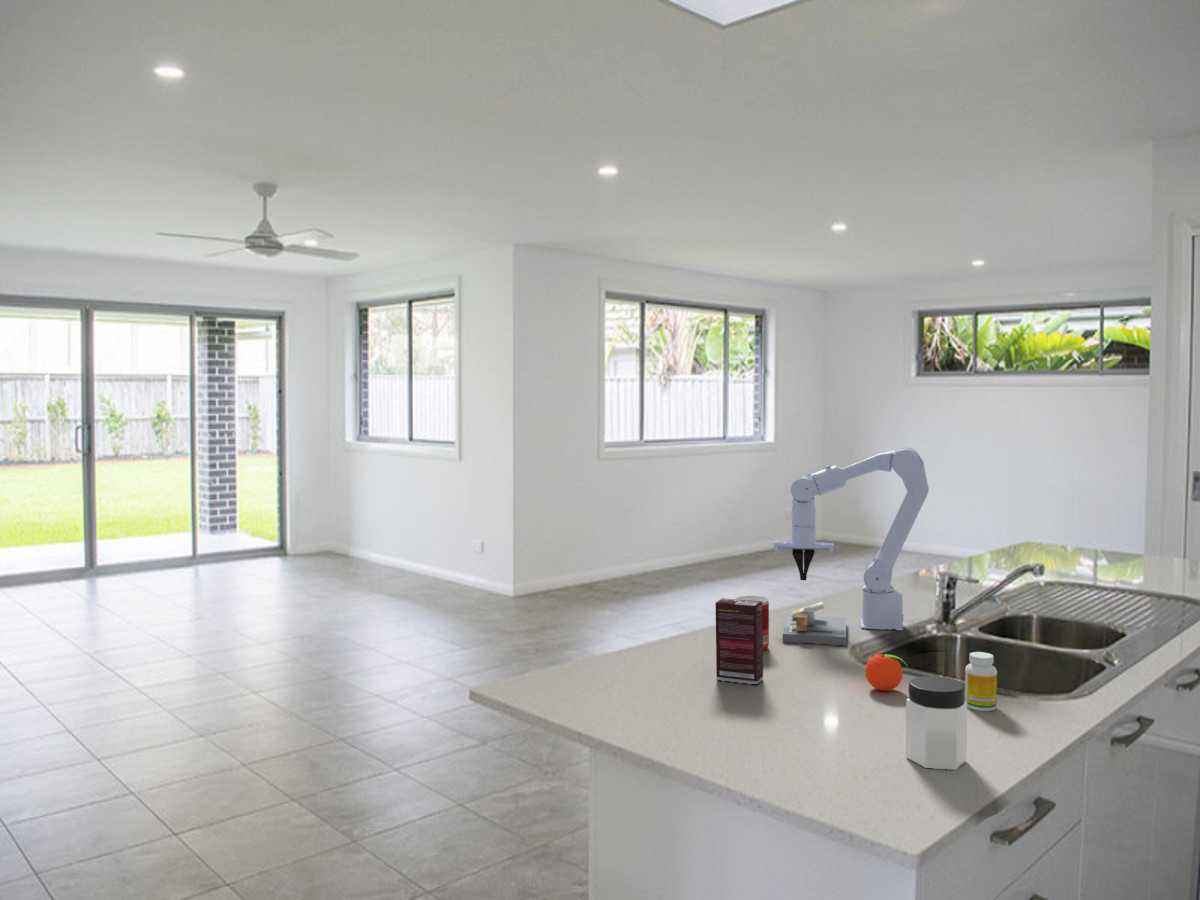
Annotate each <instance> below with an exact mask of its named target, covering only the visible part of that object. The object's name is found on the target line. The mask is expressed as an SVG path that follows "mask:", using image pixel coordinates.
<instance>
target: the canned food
mask: <svg viewBox="0 0 1200 900" xmlns="http://www.w3.org/2000/svg"><path fill="white" fill-rule="evenodd" d="M734 599H738V600H750V601H762V620H763V652H765V651H766V649H767V648H768V649H769V645H770V641H769V639H770V637H769V636H770V632H769V631H770V607H769V606H770V603H769V602H770V601H769V599H768V598H766V597H763V596H759V595H757V596H756V595H742V596H737V597H736V598H734ZM768 649H767V650H768ZM764 650H765V651H764Z"/></svg>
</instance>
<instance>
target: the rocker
mask: <svg viewBox="0 0 1200 900" xmlns="http://www.w3.org/2000/svg"><path fill="white" fill-rule="evenodd" d="M804 608H815V612H816V611H820V610H823V609H825V602H824V601H820V602H817V603H814V604H813V603H812V604H810V605H807V606H805V607H802V608H801V607H800V608H798V609H795V610H792V611H791V613H790V615H791V616H792V618H796V616H797V613H803V612H804Z"/></svg>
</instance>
